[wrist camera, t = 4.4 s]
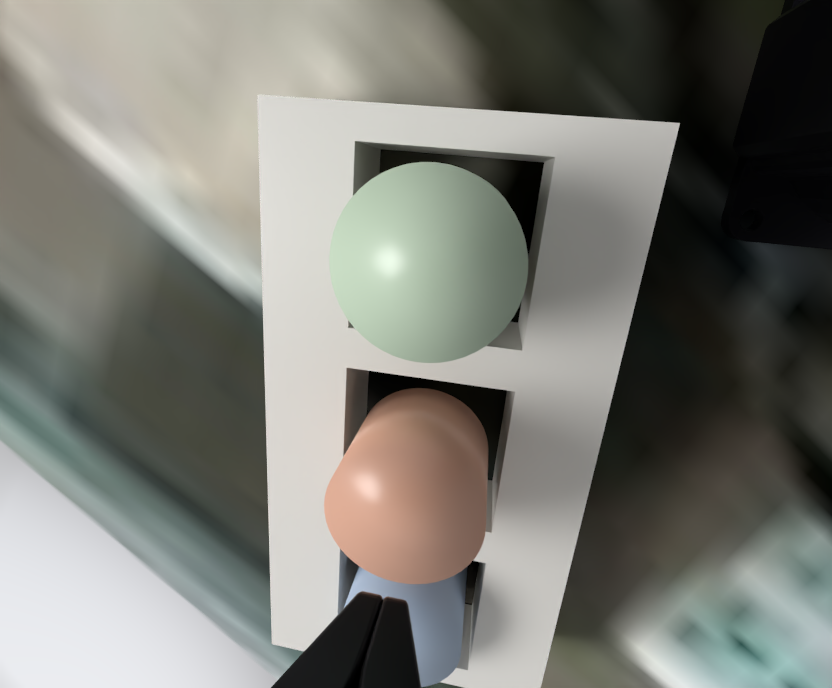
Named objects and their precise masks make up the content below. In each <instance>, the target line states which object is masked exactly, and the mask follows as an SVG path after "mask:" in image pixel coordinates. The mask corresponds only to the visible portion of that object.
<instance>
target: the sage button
mask: <svg viewBox="0 0 832 688" xmlns="http://www.w3.org/2000/svg"><path fill="white" fill-rule="evenodd" d="M329 265H330V276H331V282H332V286H333V289H334V293H335V296H336V298H337V300H338V303H339V305H340V307H341V309H342V311H343V312H344V314H345V316H346V318H347V319H348V320H349V322H350V323H351V324H352V326H353V327H354V328H355V329H356V330H357V331H358V332H359V333H360V334H361V335H362V336H363V337H364V338H365V339H366V340H368V341H369V342H370V343H371V344H373V345H374V346H376V347H377V348H379V349H381V350H382V351H384V352H386V353H388V354H390V355H393V356H395V357H398V358H401V359H404V360H409V361H413V362H421V363H442V362H448V361H453V360H457V359H460V358H463V357H466V356H468V355H470V354H473V353H475V352H477V351H478V350H480V349H482V348H483V347H485V346H487V345H488V344H489V343H490V342H492V341H493V340H494V339H495V338H497V337H498V335H499V334H500V333H501V332H502V331H503V330H504V329H505V328H506V327H507V325H508V324H509V323H510V321H511V320H512V318H513V317H514V315H515V313H516V311H517V309H518V308H519V306H520V303H521V300H522V298H523V295H524V292H525V287H526V283H527V276H528V252H527V246H526V240H525V237H524V234H523V231H522V228H521V225H520V223H519V221H518V219H517V217H516V215H515V213H514V211H513V210H512V208H511V207H510V205H509V204H508V202H507V201H506V199H505V198H504V197H503V196H502V194H501V193H500V192H499V191H498V190H497V189H496V188H495V187H494V186H492V185H491V184H490V183H489V182H487V181H486V180H484V179H483V178H481V177H479V176H477V175H476V174H474V173H471V172H469V171H467V170H465V169H463V168H460V167H456V166H453V165H450V164H444V163H438V162H417V163H409V164H405V165H401V166H398V167H394V168H392V169H389V170H387V171H385V172H383V173H381V174H379V175H377V176H376V177H374V178H373V179H371V180H370V181H368V182H367V183H366V184H365V185H364V186H362V187H361V188H360V189H359V190H358V191H357V192H356V193H355V194H354V195H353V197H352V198H351V199H350V200H349V202H348V203H347V205H346V206H345V208H344V209H343V211H342V213H341V215H340V217H339V219H338V221H337V223H336V226H335V229H334V232H333V236H332V240H331V245H330V255H329Z"/></svg>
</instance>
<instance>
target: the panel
mask: <svg viewBox="0 0 832 688" xmlns="http://www.w3.org/2000/svg"><path fill="white" fill-rule="evenodd" d="M257 104H258V142H259V179H260V216H261V253H262V291H263V328H264V365H265V402H266V440H267V477H268V514H269V551H270V588H271V626H272V644H274V645H278V646H283V647H287V648H292V649H296V650H300V651H305V650H306V649H307V648H308V647H309V646H310V645H311V643H312V642H313V641H314V640H315V639H316V638H317V637H318V636H319V635H320V634H321V633H322V631H323V630H324V629H325V628H326V627H327V626H328V625H329V624H330V623H331V622H332V621H333V619H334V618H335V617H336V616H337V615H338V614H339V613H340V612H341V611H342V610H343V609H344V606H345V603H346V600H347V598H348V595H349V592H350V589H351V587H352V584H353V581H354V578H355V576H356V573H357V570H358V565H357V564H356V563H354V562H353V561H352V560H351V559H350V558H349V557H348V556H346V555H345V554H344V552H343V551H342V550H341V549H340V548H339V546H338V545H337V543H336V542H335V540H334V539H333V537H332V535H331V533H330V531H329V528H328V526H327V523H326V518H325V513H324V500H325V494H326V490H327V487H328V484H329V482H330V480H331V478H332V476H333V475H334V473H335V471H336V469H337V467H338V466H339V464H340V462H341V460H342V459H343V457H344V455H345V453H346V452H347V450H348V448H349V446H350V445H351V443H352V441H353V439H354V438H355V436H356V434H357V432H358V431H359V429H360V427H361V425H362V424H363V422H364V420H365V418H366V416H367V398H368V379H369V371H375V372H382V373H389V374H396V375H403V376H409V377H416V378H423V379H430V380H437V381H444V382H451V383H458V384H465V385H472V386H479V387H486V388H493V389H500V390H507V394H506V400H505V406H504V412H503V418H502V425H501V431H500V437H499V443H498V449H497V455H496V461H495V467H494V474H493V480H488V482H487V512H486V532H485V537H484V541H483V544H482V547H481V549H480V551H479V553H478V554H477V556H476V557H475V559H474V560H473V561H477V562H479V566H478V572H477V578H476V584H475V590H474V596H473V602H472V605H469V604H465V607H464V620H463V633H462V646H461V656H460V660H459V663H458V665H457V667H456V668H455V670H454V671H453V672H452V673H451V674H450V675H449V676H448V677H447V678H445V679H444V680H442V681H440V682H442V683H447V684H451V685H455V686H460V687H464V688H541V684H542V680H543V676H544V672H545V668H546V664H547V660H548V656H549V651H550V647H551V643H552V639H553V635H554V631H555V627H556V623H557V619H558V615H559V611H560V607H561V603H562V599H563V595H564V591H565V587H566V583H567V579H568V575H569V571H570V566H571V562H572V558H573V554H574V550H575V546H576V542H577V538H578V534H579V530H580V526H581V522H582V518H583V514H584V510H585V506H586V502H587V498H588V494H589V490H590V485H591V481H592V477H593V473H594V469H595V465H596V461H597V457H598V453H599V449H600V445H601V441H602V437H603V433H604V429H605V425H606V421H607V417H608V413H609V409H610V405H611V400H612V396H613V392H614V388H615V384H616V380H617V376H618V372H619V368H620V364H621V360H622V356H623V352H624V348H625V344H626V340H627V336H628V332H629V328H630V324H631V319H632V315H633V311H634V307H635V303H636V299H637V295H638V291H639V287H640V283H641V279H642V275H643V271H644V267H645V263H646V259H647V255H648V251H649V247H650V243H651V239H652V234H653V230H654V226H655V222H656V218H657V214H658V210H659V206H660V202H661V198H662V194H663V190H664V186H665V182H666V178H667V174H668V170H669V166H670V162H671V158H672V153H673V149H674V145H675V141H676V137H677V133H678V129H679V125H680V123H671V122H656V121H642V120H627V119H612V118H597V117H583V116H568V115H553V114H538V113H524V112H509V111H494V110H479V109H465V108H450V107H435V106H420V105H406V104H391V103H376V102H361V101H347V100H332V99H317V98H302V97H287V96H273V95H258V94H257ZM381 149H384V150H396V151H409V152H421V153H433V154H446V155H458V156H471V157H483V158H495V159H508V160H520V161H533V162H544V167H543V173H542V179H541V185H540V191H539V198H538V204H537V210H536V216H535V222H534V228H533V234H532V241H531V247H530V253H529V259H528V276H527V283H526V287H525V292H524V295H523V298H522V302H521V308H520V314H519V320H518V323H517V322H510V323H509V324H508V325H507V327H506V328H505V329H504V330H503V331H502V332H501V333H500V334H499V335H498V337H497V338H495V339H494V340H493V341H492V342H490V343H489V344H488V345H487V346H485V347H483V348H482V349H480V350H478V351H477V352H475V353H473V354H470V355H468V356H466V357H463V358H460V359H457V360H453V361H448V362H442V363H421V362H413V361H409V360H404V359H401V358H398V357H395V356H393V355H390V354H388V353H386V352H384V351H382V350H381V349H379V348H377V347H376V346H374V345H373V344H371V343H370V342H369V341H368V340H366V339H365V338H364V337H363V336H362V335H361V334H360V333H359V332H358V331H357V330H356V329H355V328H354V327H353V326H352V324H351V323H350V322H349V320H348V319H347V318H346V316H345V314H344V312H343V311H342V309H341V307H340V305H339V303H338V300H337V298H336V296H335V293H334V289H333V286H332V282H331V276H330V265H329V255H330V245H331V240H332V236H333V232H334V229H335V226H336V223H337V221H338V219H339V217H340V215H341V213H342V211H343V209H344V208H345V206H346V205H347V203H348V202H349V200H350V199H351V198H352V197H353V195H354V194H355V193H356V192H357V191H358V190H359V189H360V188H361V187H362V186H364V185H365V184H366V183H367V182H368V181H370V180H371V179H373V178H374V177H376V176H377V175H379V174H380V156H381Z"/></svg>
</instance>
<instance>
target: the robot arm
mask: <svg viewBox="0 0 832 688" xmlns="http://www.w3.org/2000/svg"><path fill="white" fill-rule="evenodd" d="M733 147H734V149H735V151H736V153H737V155H738V156H739V160H738V163H737V167H736V170H735V174H734V177H733V181H732V184H731V187H730V191H729V194H728V198H727V201H726V205H725V208H724V211H723V215H722V221H721V226H722V229H723V231H724V233H726V234H727V235H728V236H729V237H731V238H735V239H738V240H743V241H751V242H761V243H771V244H782V245H792V246H802V247H813V248H823V249H832V0H785V2H784V6H783V9H782V13H781V16H779V17H778V18H777V19H776V20H774V21H773V22H772V23H771V24H769V25H768V26H767V28H766V30H765V33H764V37H763V40H762V44H761V47H760V51H759V54H758V58H757V61H756V65H755V68H754V72H753V75H752V79H751V82H750V86H749V89H748V93H747V96H746V100H745V103H744V107H743V111H742V114H741V118H740V121H739V125H738V128H737V132H736V135H735V139H734V142H733ZM748 210H752V212H753V213H754V221H753V223H752V224H751V226H749V227H748V228H746V229H742V227H741V226H740V218H741V216H742V214H743V213H745V212H746V211H748ZM271 688H421V682H420V676H419V669H418V663H417V657H416V650H415V644H414V638H413V631H412V625H411V619H410V612H409V606H408V603H407V601H406V600H403V599H398V598H394V597H389V596H387V597H385V598H384V599H383V597H382V596H381V595H379V594H374V593H370V592H365V591H361V592H359V593H357V594H356V595H355V597H354V598H353V599H352V600H351V601H350V602H349V603H348V604H347V605H346V606H345V607H344V609H343V610H342V611H341V612H340V613H339V614H338V615H337V616H336V617H335V618H334V619H333V621H332V622H331V623H330V624H329V625H328V626H327V627H326V628H325V629H324V630H323V631H322V633H321V634H320V635H319V636H318V637H317V638H316V639H315V640H314V641H313V642H312V643H311V645H310V646H309V647H308V648H307V649H306V650H305V651H304V652H303V653H302V654H301V656H300V657H299V658H298V659H297V660H296V661H295V662H294V663H293V664H292V665H291V666H290V668H289V669H288V670H287V671H286V672H285V673H284V674H283V675H282V676H281V677H280V678H279V680H278V681H277V682H276V683H275V684H274V685H273V686H272V687H271Z"/></svg>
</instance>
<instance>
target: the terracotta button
mask: <svg viewBox="0 0 832 688" xmlns="http://www.w3.org/2000/svg"><path fill="white" fill-rule="evenodd" d="M488 452H489V450H488V440H487V436H486V433H485V430H484V428H483V426H482V424H481V422H480V420H479V419H478V418H477V416H476V415H475V414H474V412H473V411H472V410H471V409H470V408H469V407H468V406H466V405H465V404H464V403H463V402H461V401H460V400H458V399H457V398H455V397H453V396H451V395H449V394H447V393H444V392H441V391H438V390H433V389H427V388H410V389H404V390H401V391H397V392H394V393H392V394H390V395H388V396H386V397H385V398H383V399H381V400H380V401H379V402H378V403H377V404H376V405H375V406H374V407H373V408H372V409H371V410H370V412H369V413H368V415H367V416H366V418H365V420H364V422H363V424H362V425H361V427H360V429H359V431H358V432H357V434H356V436H355V438H354V439H353V441H352V443H351V445H350V446H349V448H348V450H347V452H346V453H345V455H344V457H343V459H342V460H341V462H340V464H339V466H338V467H337V469H336V471H335V473H334V475H333V476H332V478H331V480H330V482H329V484H328V487H327V490H326V494H325V500H324V513H325V518H326V523H327V526H328V528H329V531H330V533H331V535H332V537H333V539H334V540H335V542H336V543H337V545H338V546H339V548H340V549H341V550H342V551H343V552H344V554H345V555H346V556H348V557H349V558H350V559H351V560H352V561H353V562H354V563H356V564H357V565H358V566H360V567H361V568H363V569H364V570H366V571H368V572H370V573H372V574H374V575H376V576H378V577H381V578H383V579H386V580H390V581H394V582H398V583H405V584H428V583H434V582H438V581H442V580H445V579H447V578H450V577H452V576H454V575H456V574H457V573H459V572H461V571H462V570H463V569H465V568H466V567H467V566H468V565H469V564H470V563H471V562H472V561H473V560H474V559H475V557H476V556H477V554H478V553H479V551H480V549H481V547H482V544H483V541H484V537H485V532H486V512H487V482H488Z"/></svg>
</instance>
